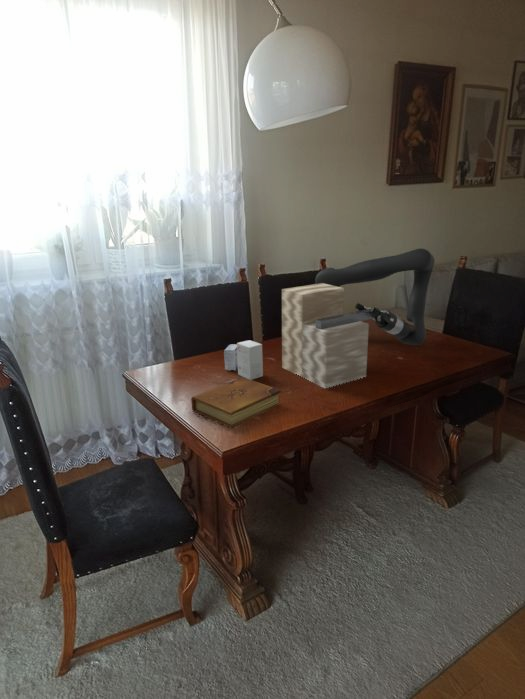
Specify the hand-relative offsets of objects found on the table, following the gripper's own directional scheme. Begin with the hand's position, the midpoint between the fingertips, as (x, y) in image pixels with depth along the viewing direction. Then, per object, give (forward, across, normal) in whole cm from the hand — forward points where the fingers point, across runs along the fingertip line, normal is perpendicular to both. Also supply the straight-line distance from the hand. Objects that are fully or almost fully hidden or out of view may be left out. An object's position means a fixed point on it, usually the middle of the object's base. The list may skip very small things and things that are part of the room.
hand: (364, 307), depth 190 cm
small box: (+20, -21, +41) cm, 51 cm away
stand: (-1, -8, +29) cm, 30 cm away
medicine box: (+21, -33, +42) cm, 57 cm away
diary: (+37, +1, +51) cm, 63 cm away
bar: (+4, 0, +8) cm, 9 cm away
